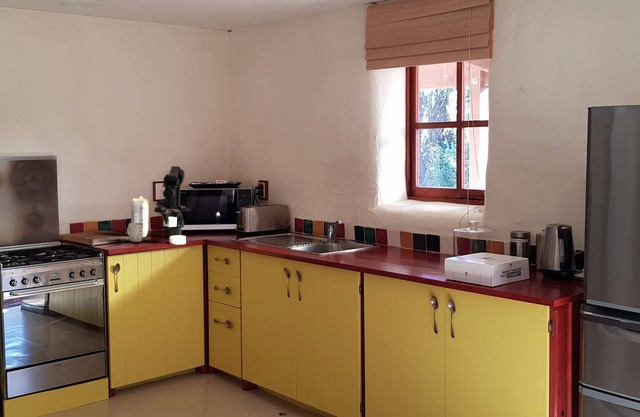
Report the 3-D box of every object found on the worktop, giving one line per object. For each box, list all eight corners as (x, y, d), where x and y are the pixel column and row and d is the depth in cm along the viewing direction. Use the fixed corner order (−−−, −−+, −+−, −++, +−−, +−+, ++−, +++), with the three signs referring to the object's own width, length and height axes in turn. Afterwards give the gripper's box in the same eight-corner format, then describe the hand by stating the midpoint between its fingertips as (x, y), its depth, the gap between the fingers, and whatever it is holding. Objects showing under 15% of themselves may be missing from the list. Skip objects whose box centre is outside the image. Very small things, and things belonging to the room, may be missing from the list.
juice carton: (148, 235, 452) (149, 196, 449) (146, 237, 444) (146, 197, 441) (133, 235, 452) (133, 195, 449) (130, 237, 444) (130, 196, 441)
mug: (134, 242, 424) (135, 225, 423) (120, 239, 431) (120, 222, 430) (146, 241, 430) (146, 224, 429) (132, 238, 438) (132, 221, 437)
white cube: (170, 225, 430) (170, 216, 429) (176, 226, 427) (176, 217, 426) (163, 225, 426) (163, 217, 425) (169, 226, 423) (169, 218, 422)
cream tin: (178, 241, 435) (178, 234, 434) (188, 243, 429) (189, 236, 429) (166, 243, 428) (166, 236, 427) (176, 245, 422) (177, 238, 422)
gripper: (174, 194, 437) (173, 221, 438) (148, 196, 422) (147, 223, 424) (187, 196, 430) (186, 223, 431) (160, 198, 415) (160, 226, 417)
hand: (170, 224), depth 426 cm, fingers closed on white cube, 5 cm apart
